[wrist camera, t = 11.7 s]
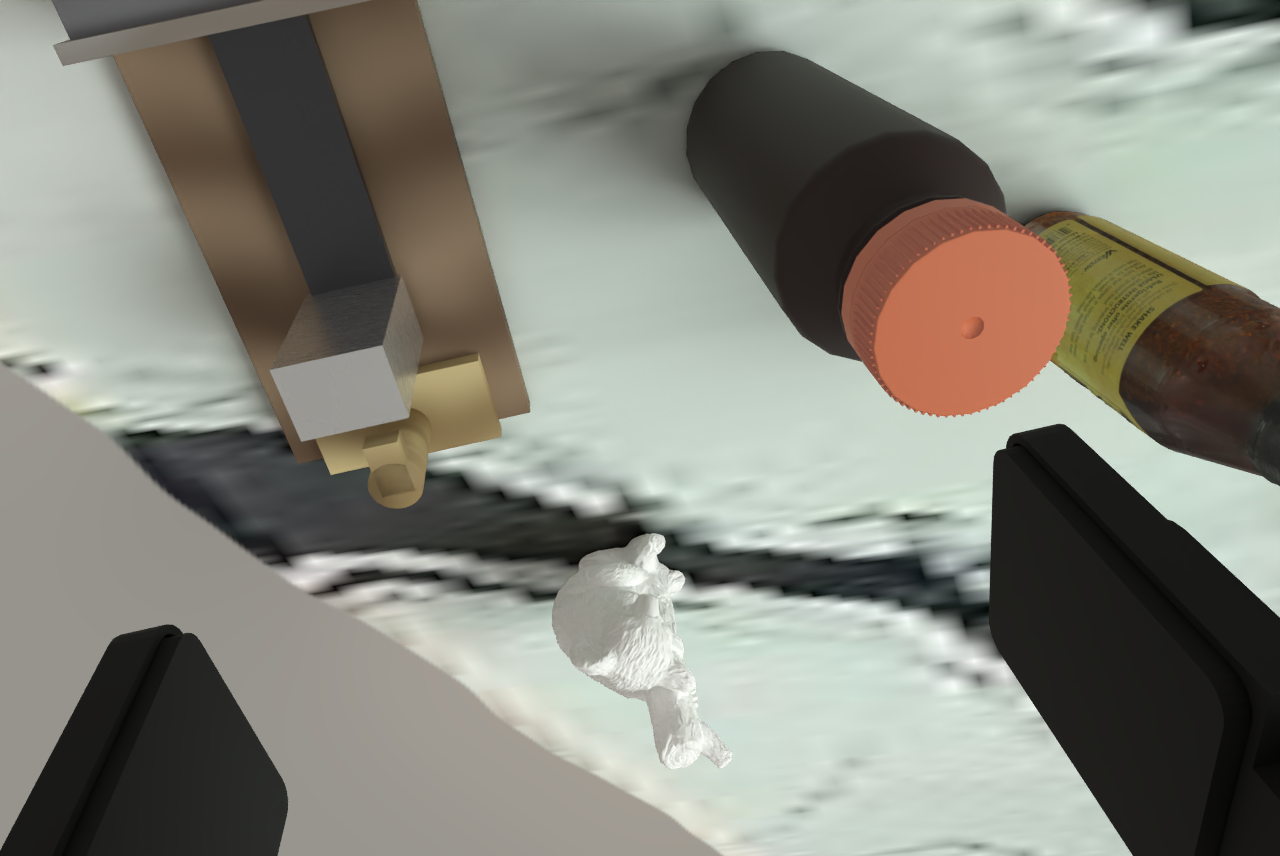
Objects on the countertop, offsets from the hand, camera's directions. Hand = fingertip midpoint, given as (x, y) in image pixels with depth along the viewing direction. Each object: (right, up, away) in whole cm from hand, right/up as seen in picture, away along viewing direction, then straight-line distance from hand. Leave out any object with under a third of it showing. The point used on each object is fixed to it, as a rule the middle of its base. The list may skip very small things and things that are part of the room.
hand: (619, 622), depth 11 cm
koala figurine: (-1, -5, +38) cm, 39 cm away
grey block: (-12, +12, +25) cm, 30 cm away
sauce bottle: (+20, +10, +33) cm, 39 cm away
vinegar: (+5, +15, +28) cm, 32 cm away
